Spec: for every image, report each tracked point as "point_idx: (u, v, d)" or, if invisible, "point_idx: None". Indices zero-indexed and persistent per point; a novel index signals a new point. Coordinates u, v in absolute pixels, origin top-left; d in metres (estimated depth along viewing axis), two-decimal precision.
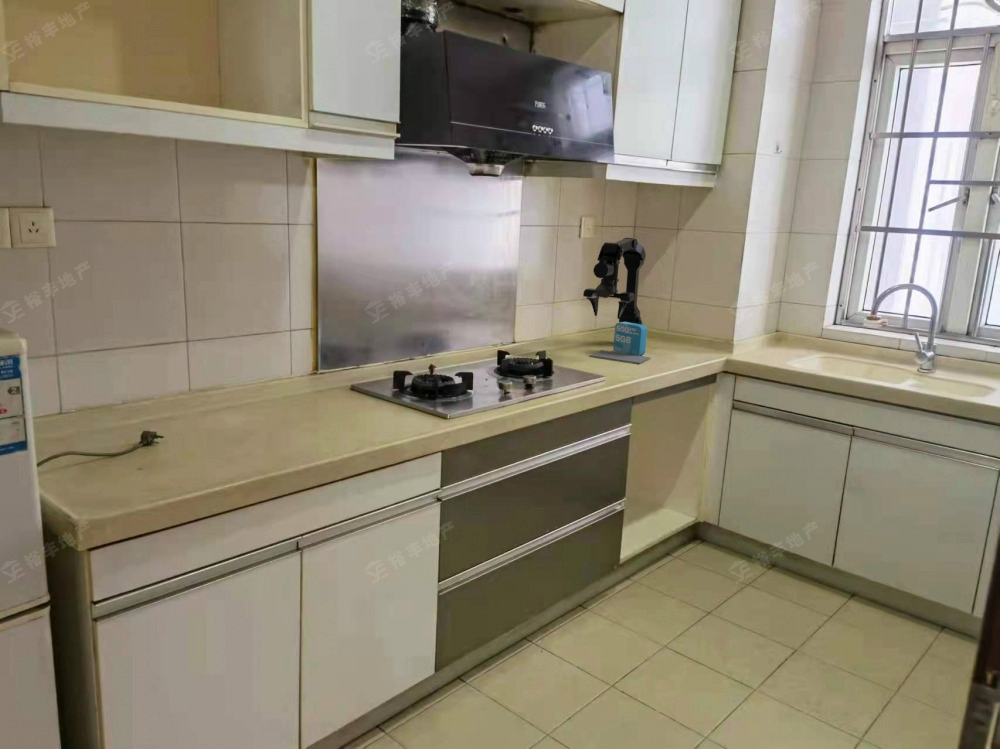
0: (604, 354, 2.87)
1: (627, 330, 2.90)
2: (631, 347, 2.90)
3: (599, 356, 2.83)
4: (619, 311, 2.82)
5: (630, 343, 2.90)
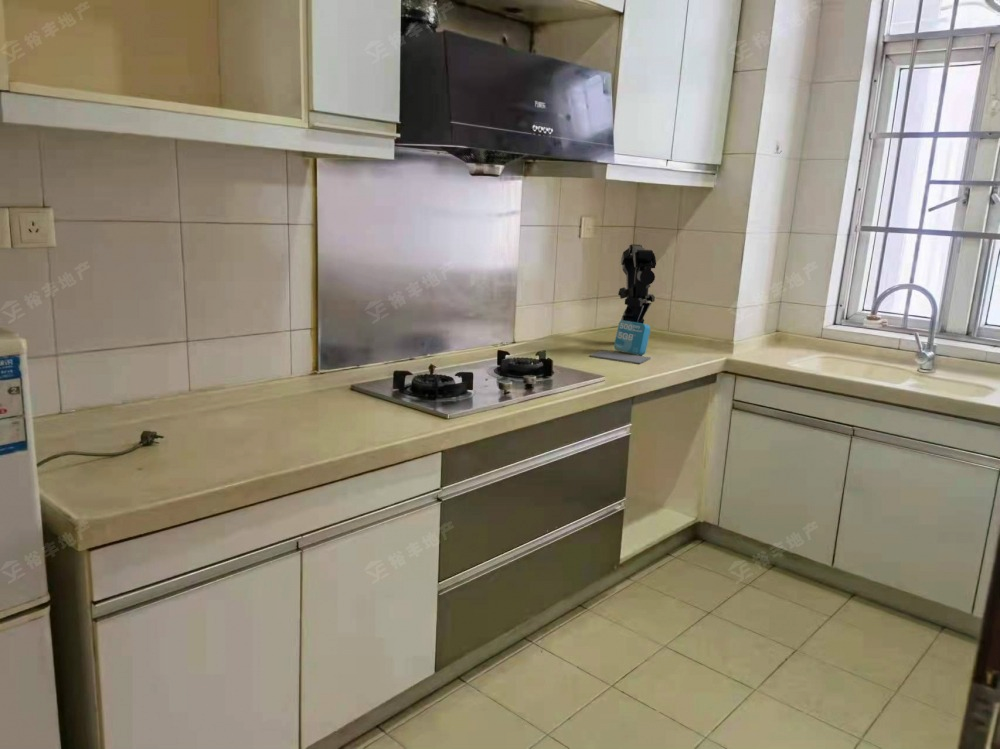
0: (604, 354, 2.87)
1: (630, 327, 2.91)
2: (632, 344, 2.90)
3: (599, 356, 2.83)
4: None
5: (632, 340, 2.90)
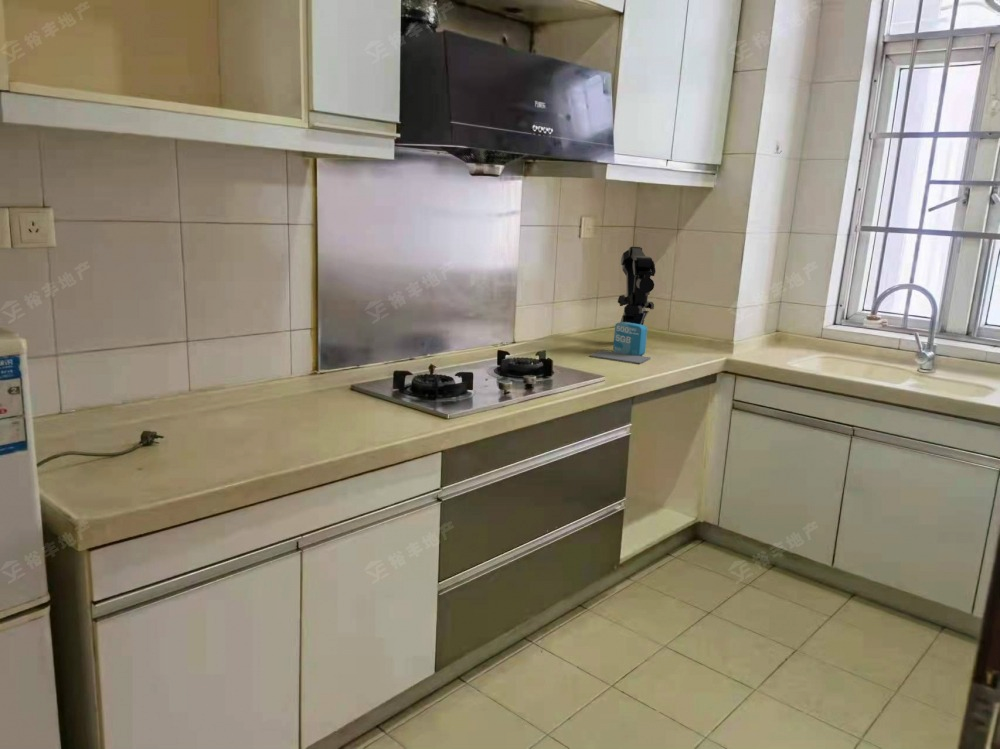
0: (604, 354, 2.87)
1: (627, 330, 2.90)
2: (631, 347, 2.90)
3: (599, 356, 2.83)
4: None
5: (630, 343, 2.90)
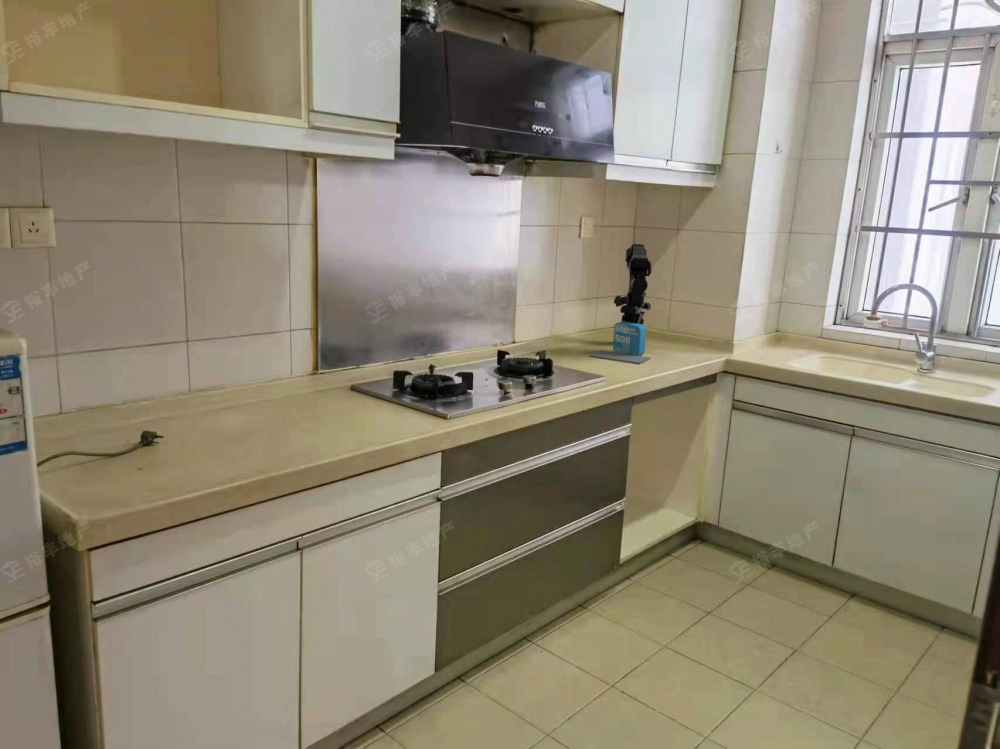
0: (604, 354, 2.87)
1: (626, 330, 2.89)
2: (630, 347, 2.90)
3: (599, 356, 2.83)
4: None
5: (630, 343, 2.89)
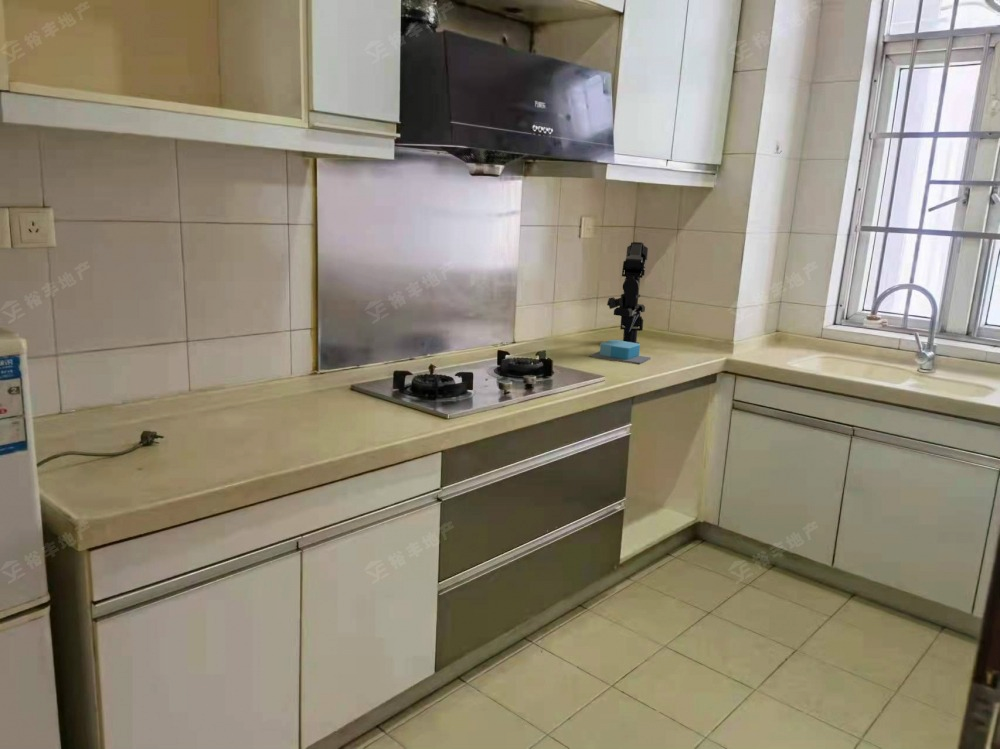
0: None
1: None
2: None
3: (599, 356, 2.83)
4: None
5: None
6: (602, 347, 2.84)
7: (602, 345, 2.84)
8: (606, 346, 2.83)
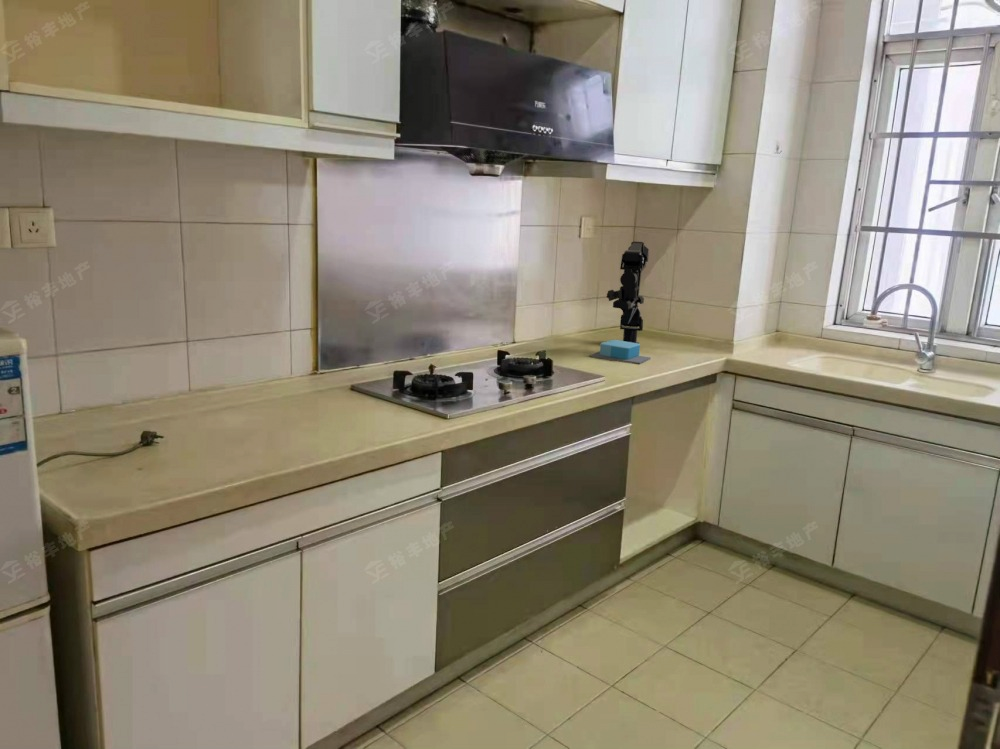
0: None
1: None
2: None
3: (599, 356, 2.83)
4: None
5: None
6: (602, 347, 2.84)
7: (602, 345, 2.84)
8: (606, 346, 2.83)
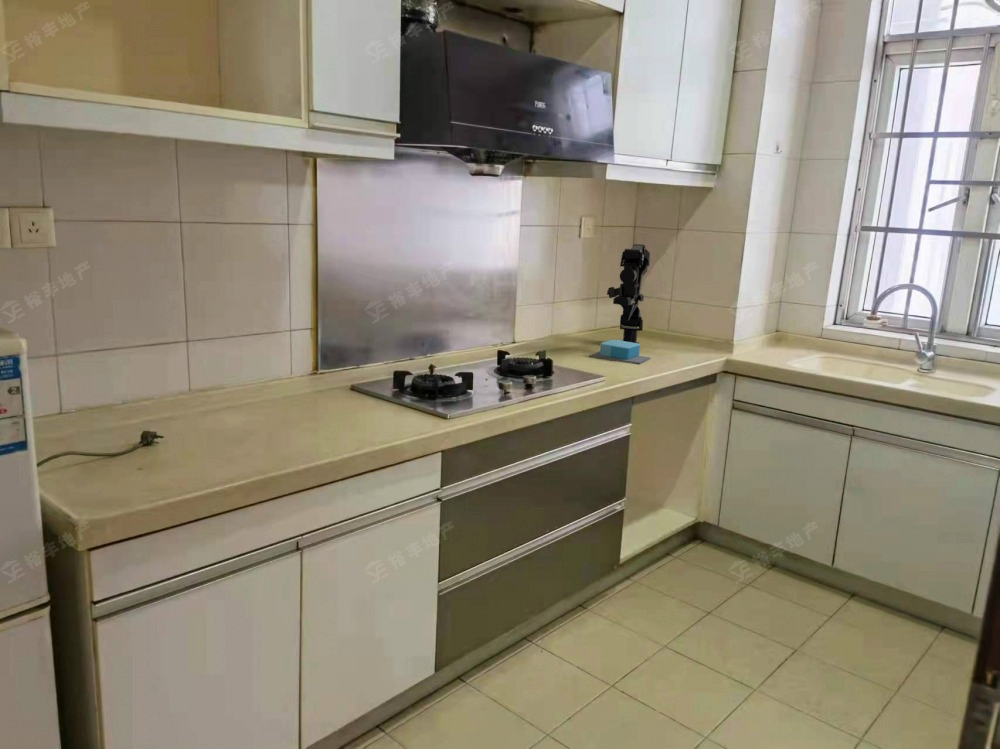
0: None
1: None
2: None
3: (599, 356, 2.83)
4: None
5: None
6: (602, 347, 2.84)
7: (602, 345, 2.84)
8: (606, 346, 2.83)
